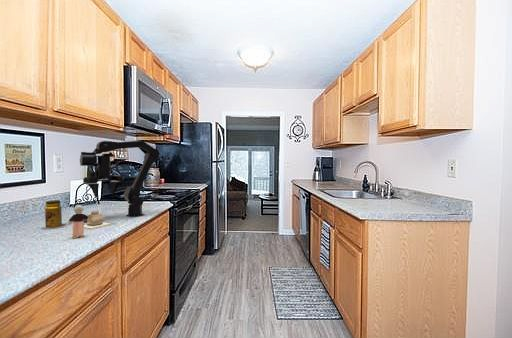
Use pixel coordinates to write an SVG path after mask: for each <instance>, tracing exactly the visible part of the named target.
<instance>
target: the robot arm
mask: <svg viewBox="0 0 512 338" xmlns="http://www.w3.org/2000/svg"><path fill="white" fill-rule="evenodd" d="M132 148H138V149H139V150H140V151H141V152H142V153H143V154H144V156H143V162H142V165H141V166H140V168H139V171H138V173H137V174H136V177H135V179H134V182H133V183H132V185H131V186H126V189H125V191H124V192H123V194H124V195H123V197H124V200H125V201H127V204H128V207H127V210H128V212H127V214H126V216H127V217H135V218H136V217H140V216H144V215H145V213H143V203H144V200H143V199H142V198H140V195H141V189H142V186H143V184H144V181H145V179H146V178H147V176H148V174H149V171H150V169H151V167H152V166H153V164H154V163H155V162H156V161H157V160H158V159H159V157H160V154H161V153H160V151H159V150H158V149H157V148H154V147H153V146H152V145H150V144H148V143H147V142H146V141H144V140H142V139H139V140H133V141H132V140H131V141H110V140H102V141H99V142H97V143H96V147H95V148H94V150H93V151H92V152H85V151H81V152H80V156H79V157H80V158H79V165H80V166H81V167H85V166H86V167H89V166H90V167H93V166H95V164H97V167H95V171H94V170H87V171H86V176H84V178H83V179H82V183H83V184H85V185H88V186H89V187H90V189H91V191H92V194H93V196H94V197H95V198H98V195H99V186H100V183H98V182H109V183H110V188H111V189H110V193H111V196H114V195H115V192H116V191H117V189H118V187H119V185H120V184H122V182H123V181H124V177H123V175H111V170H113V167H111V157H112V158H114V157H115V155H114V154H113V151H117V150H121V149H132ZM108 152H109V153H108Z"/></svg>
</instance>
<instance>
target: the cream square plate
mask: <svg viewBox="0 0 512 338" xmlns="http://www.w3.org/2000/svg"><path fill="white" fill-rule="evenodd" d="M113 225H117V222H109V221H104V220H103V224H102V225H97V226H88V225H87V223H84V230H87V231H88V230H90V231H93V230H96V229H100V228H105V227H108V226H113Z"/></svg>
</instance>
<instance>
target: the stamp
mask: <svg viewBox="0 0 512 338" xmlns="http://www.w3.org/2000/svg"><path fill="white" fill-rule="evenodd" d="M90 212H91V213H89V214H86V215H87V216H88V218H89V220H90V222H87V223H86V224H87V225H88V226H97V225H102V224H103V221H104V219H103V213H101V212H99V211H98V210H92V211H90Z"/></svg>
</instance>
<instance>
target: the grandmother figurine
mask: <svg viewBox="0 0 512 338" xmlns="http://www.w3.org/2000/svg"><path fill="white" fill-rule="evenodd" d="M83 211H84V206H82V205H80V204H77V205H75V207H74V208H73V212H74V213H75V214H73V215H72V216H71V217H70V218H69V219H68V222H67V224H66V226H70V225H71V224H73V225H72V237H71V239H77V238H84V237H85V234H84V233H85V229H84V224H85V223H84V221H83V219H85V220H87V222H90V220H89V218H88V216H87V214H85V213H83ZM72 221H74V222H72Z"/></svg>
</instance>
